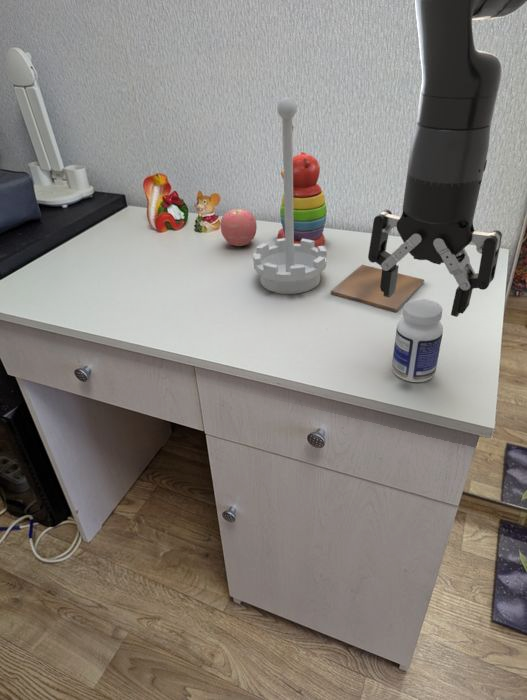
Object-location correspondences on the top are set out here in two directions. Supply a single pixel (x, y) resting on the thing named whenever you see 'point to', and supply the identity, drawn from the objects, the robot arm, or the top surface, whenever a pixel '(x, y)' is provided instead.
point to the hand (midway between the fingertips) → (421, 303)
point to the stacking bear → (306, 202)
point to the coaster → (376, 288)
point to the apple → (238, 227)
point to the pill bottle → (418, 340)
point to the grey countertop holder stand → (289, 233)
